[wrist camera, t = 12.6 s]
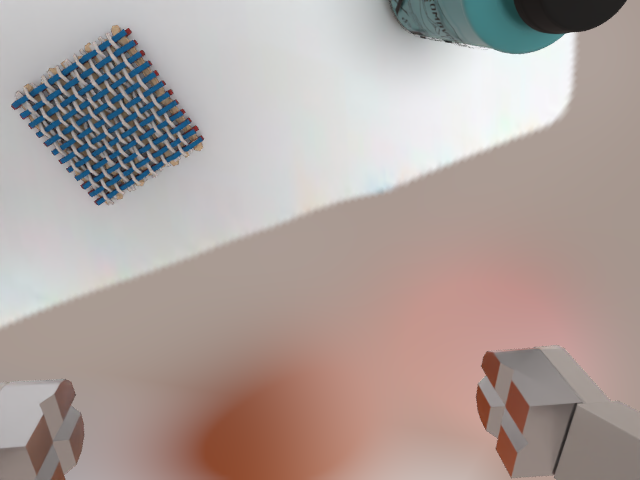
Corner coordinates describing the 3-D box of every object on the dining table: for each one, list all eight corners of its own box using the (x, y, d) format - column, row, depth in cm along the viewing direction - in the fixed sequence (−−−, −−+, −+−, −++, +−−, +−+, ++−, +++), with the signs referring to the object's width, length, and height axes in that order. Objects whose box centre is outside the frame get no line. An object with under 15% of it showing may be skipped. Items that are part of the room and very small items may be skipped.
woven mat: (9, 96, 36) (-4, 101, 34) (125, 18, 34) (117, 19, 32) (105, 207, 40) (97, 216, 38) (211, 142, 39) (208, 149, 37)
